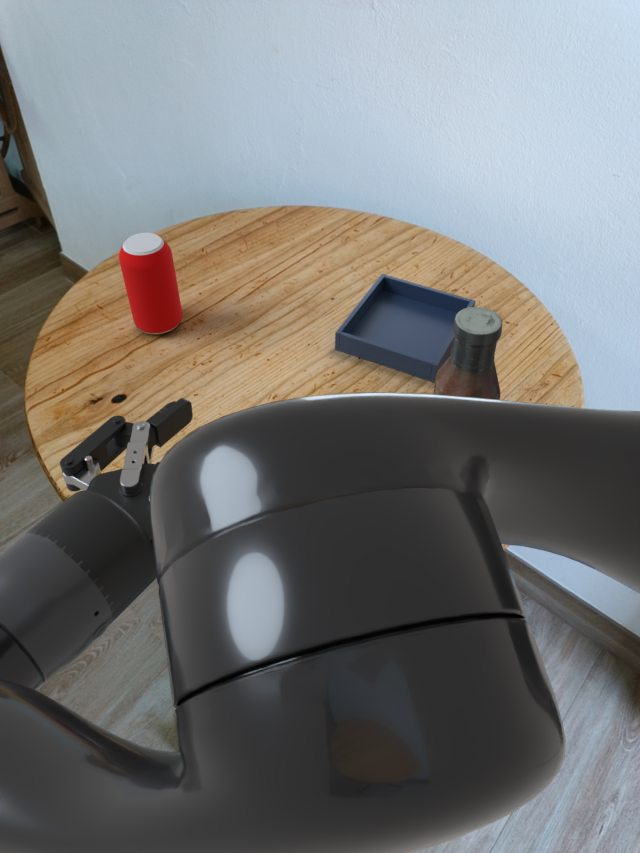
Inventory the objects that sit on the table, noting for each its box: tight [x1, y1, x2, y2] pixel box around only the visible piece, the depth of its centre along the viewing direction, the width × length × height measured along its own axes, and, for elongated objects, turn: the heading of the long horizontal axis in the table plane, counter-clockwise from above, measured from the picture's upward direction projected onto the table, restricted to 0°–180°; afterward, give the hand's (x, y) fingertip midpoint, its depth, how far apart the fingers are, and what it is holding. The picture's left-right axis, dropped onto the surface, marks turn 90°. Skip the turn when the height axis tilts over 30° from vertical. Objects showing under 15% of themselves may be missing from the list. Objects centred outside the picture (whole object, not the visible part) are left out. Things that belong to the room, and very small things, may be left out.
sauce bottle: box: [432, 306, 503, 400], centre depth 65 cm, size 7×6×20 cm
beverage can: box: [118, 232, 183, 335], centre depth 85 cm, size 6×6×12 cm
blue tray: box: [334, 273, 477, 383], centre depth 87 cm, size 13×14×3 cm
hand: (231, 431), depth 51 cm, fingers open, 8 cm apart
